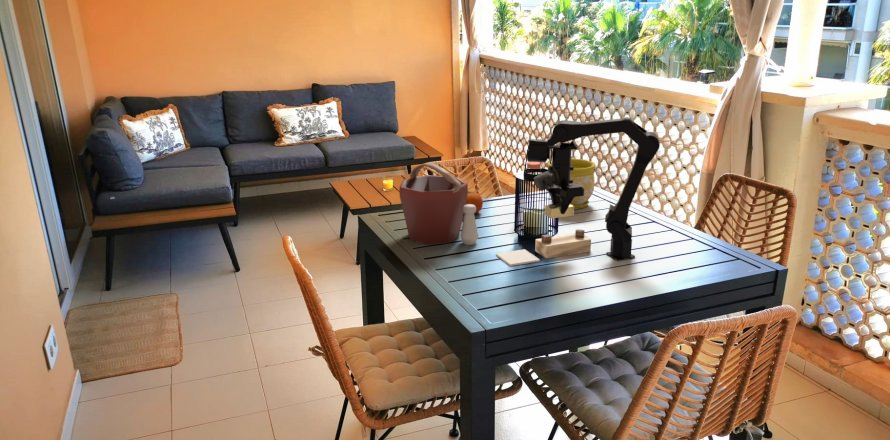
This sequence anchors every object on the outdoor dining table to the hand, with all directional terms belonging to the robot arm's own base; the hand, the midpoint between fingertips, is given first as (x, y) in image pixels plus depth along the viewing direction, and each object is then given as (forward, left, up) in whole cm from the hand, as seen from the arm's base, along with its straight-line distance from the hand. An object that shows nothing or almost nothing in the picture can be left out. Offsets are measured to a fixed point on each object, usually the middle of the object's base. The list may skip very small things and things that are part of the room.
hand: (559, 212), depth 216 cm
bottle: (+37, -11, -13) cm, 41 cm away
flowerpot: (+44, -31, -13) cm, 55 cm away
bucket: (+30, +31, -13) cm, 45 cm away
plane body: (0, -2, -13) cm, 13 cm away
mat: (0, +14, -13) cm, 19 cm away
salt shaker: (+19, +22, -13) cm, 32 cm away
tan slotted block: (0, 0, -1) cm, 1 cm away
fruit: (+50, +9, -13) cm, 53 cm away
